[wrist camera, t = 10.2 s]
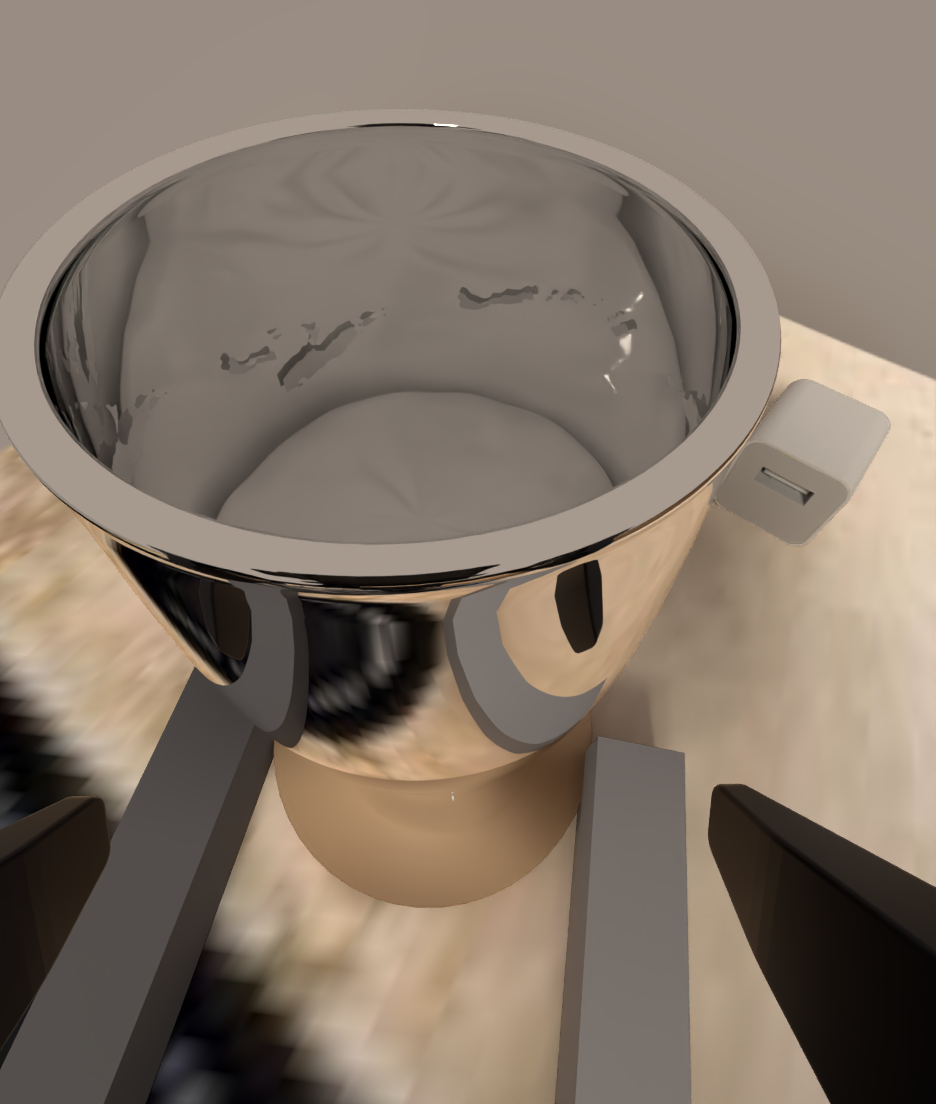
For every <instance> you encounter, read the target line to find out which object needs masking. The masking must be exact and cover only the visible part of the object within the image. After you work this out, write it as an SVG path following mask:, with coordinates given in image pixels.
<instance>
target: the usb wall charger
mask: <svg viewBox="0 0 936 1104" xmlns="http://www.w3.org/2000/svg"><path fill="white" fill-rule="evenodd" d="M890 426H891V424H890V420H889V418H888V417H887V416H886V415H885V414H884V413H883V412H881V411H879V410H877V409H874V408H872V407H870V406H868V405H866V404H863V403H861V402H859V401H857V400H855V399H852V398H850V397H848V396H846V395H844V394H841V393H839V392H837V391H835V390H833V389H830V388H828V387H826V386H824V385H821V384H819V383H817V382H815V381H812V380H808V379H801V380H797V381H794V382H792V383H791V384H790V385H789V386H788V387H787V388H786V389H785V391H784V392H783V393H782V395H781V396H780V397H779V399H778V400H777V401H776V403H775V404H774V405H773V407H772V408H771V409H770V410H769V412H768V413H767V414H766V416H765V417H764V418H763V420H762V421H761V422H760V424H759V425H758V426H757V428H756V429H755V430H754V432H753V433H752V434H751V436H750V437H749V438H748V440H747V441H746V443H745V444H744V445H743V447H742V448H741V449H740V451H739V452H738V454H737V455H736V457H735V459H734V460H733V462H732V463H731V465H730V467H729V469H728V471H727V473H726V475H725V477H724V479H723V481H722V483H721V485H720V487H719V489H718V491H717V494H716V496H715V498H714V500H715V502H716V503H717V504H718V506H720V507H722V508H723V509H725V510H727V511H729V512H730V513H732V514H734V515H736V516H738V517H739V518H741V519H743V520H745V521H746V522H748V523H750V524H752V525H754V526H755V527H757V528H759V529H761V530H762V531H764V532H766V533H768V534H770V535H771V536H773V537H775V538H777V539H778V540H780V541H782V542H784V543H786V544H787V545H790V546H803V545H806V544H807V543H809V542H810V541H811V540H812V539H813V538H814V537H815V536H816V535H817V534H818V533H819V532H820V531H821V530H822V528H823V527H824V526H825V525H826V524H827V523H828V522H829V521H830V520H831V519H832V518H833V517H834V516H835V515H836V514H837V513H838V512H839V511H840V510H841V509H842V508H843V507H844V506H845V505H846V504H847V503H848V502H849V500H850V499H851V497H852V495H853V493H854V492H855V490H856V488H857V486H858V485H859V483H860V481H861V479H862V478H863V476H864V474H865V472H866V471H867V469H868V467H869V465H870V464H871V462H872V460H873V458H874V457H875V455H876V453H877V451H878V450H879V448H880V446H881V444H882V443H883V441H884V439H885V437H886V436H887V434H888V432H889V430H890Z"/></svg>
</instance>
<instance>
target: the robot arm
mask: <svg viewBox="0 0 936 1104" xmlns="http://www.w3.org/2000/svg"><path fill="white" fill-rule="evenodd" d="M708 839H709V845H710V849H711V851H712V854H713V857H714V859H715V861H716V864H717V866H718V869H719V871H720V874H721V876H722V879H723V881H724V884H725V886H726V888H727V891H728V893H729V896H730V898H731V901H732V903H733V906H734V908H735V911H736V913H737V916H738V918H739V920H740V923H741V925H742V928H743V930H744V933H745V935H746V938H747V940H748V942H749V945H750V947H751V949H752V952H753V954H754V956H755V958H756V960H757V962H758V964H759V966H760V969H761V971H762V973H763V975H764V977H765V979H766V981H767V982H768V984H769V986H770V988H771V990H772V992H773V994H774V996H775V998H776V1000H777V1002H778V1004H779V1006H780V1008H781V1009H782V1011H783V1013H784V1015H785V1017H786V1019H787V1021H788V1023H789V1025H790V1027H791V1029H792V1031H793V1033H794V1035H795V1036H796V1038H797V1040H798V1042H799V1044H800V1046H801V1048H802V1050H803V1052H804V1054H805V1056H806V1058H807V1060H808V1062H809V1063H810V1065H811V1067H812V1069H813V1071H814V1073H815V1075H816V1077H817V1079H818V1081H819V1083H820V1085H821V1087H822V1089H823V1090H824V1092H825V1094H826V1096H827V1098H828V1100H829V1102H830V1104H936V887H934V886H932V885H930V884H929V883H927V882H925V881H923V880H921V879H919V878H917V877H916V876H914V875H912V874H910V873H908V872H906V871H904V870H902V869H901V868H899V867H897V866H895V865H893V864H891V863H889V862H888V861H886V860H884V859H882V858H880V857H878V856H876V855H874V854H873V853H871V852H869V851H867V850H865V849H863V848H861V847H860V846H858V845H856V844H854V843H852V842H850V841H848V840H847V839H845V838H843V837H841V836H839V835H837V834H835V833H834V832H832V831H830V830H828V829H826V828H824V827H822V826H820V825H819V824H817V823H815V822H813V821H811V820H809V819H807V818H806V817H804V816H802V815H800V814H798V813H796V812H794V811H793V810H791V809H789V808H787V807H785V806H783V805H781V804H780V803H778V802H776V801H774V800H772V799H770V798H768V797H766V796H765V795H763V794H761V793H759V792H757V791H755V790H753V789H752V788H750V787H748V786H746V785H743V784H719V785H717V786H716V787H714V789H713V792H712V797H711V808H710V818H709V828H708ZM110 849H111V843H110V836H109V830H108V823H107V817H106V810H105V805H104V802H103V800H102V799H101V798H99V797H97V796H72V797H68V798H65V799H63V800H61V801H59V802H57V803H55V804H53V805H50V806H48V807H46V808H44V809H42V810H40V811H38V812H36V813H34V814H31V815H29V816H27V817H25V818H23V819H21V820H19V821H17V822H15V823H13V824H10V825H8V826H6V827H4V828H2V829H0V1051H1V1049H2V1048H3V1046H4V1045H5V1043H6V1041H7V1040H8V1038H9V1037H10V1035H11V1033H12V1032H13V1030H14V1029H15V1027H16V1026H17V1024H18V1022H19V1021H20V1019H21V1018H22V1016H23V1015H24V1013H25V1011H26V1010H27V1008H28V1007H29V1005H30V1004H31V1002H32V1000H33V999H34V997H35V996H36V994H37V992H38V991H39V989H40V987H41V986H42V984H43V982H44V981H45V979H46V977H47V976H48V974H49V972H50V970H51V968H52V967H53V965H54V963H55V961H56V960H57V958H58V956H59V954H60V952H61V950H62V948H63V946H64V944H65V943H66V941H67V939H68V937H69V935H70V933H71V931H72V929H73V927H74V925H75V923H76V922H77V920H78V918H79V916H80V914H81V912H82V910H83V908H84V906H85V904H86V903H87V901H88V899H89V897H90V895H91V893H92V891H93V889H94V887H95V885H96V884H97V882H98V880H99V878H100V876H101V874H102V872H103V870H104V868H105V866H106V864H107V862H108V859H109V855H110Z"/></svg>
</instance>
